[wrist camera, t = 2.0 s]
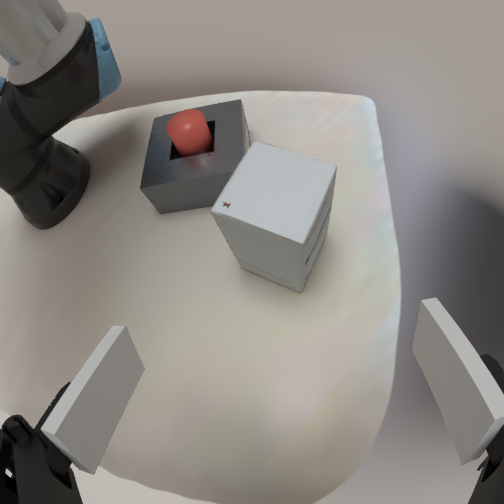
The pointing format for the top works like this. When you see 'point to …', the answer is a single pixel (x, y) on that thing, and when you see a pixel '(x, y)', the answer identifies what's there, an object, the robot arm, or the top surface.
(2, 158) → the robot arm
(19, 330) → the top surface
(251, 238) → the supplement box
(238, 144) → the grey button housing
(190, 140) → the button
